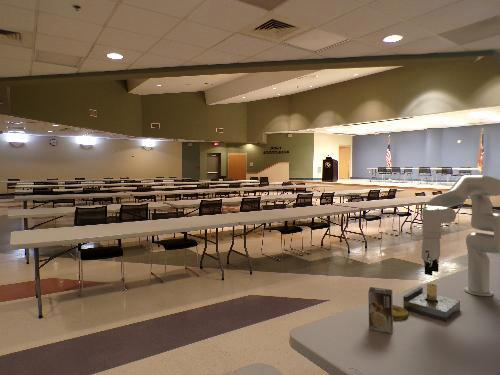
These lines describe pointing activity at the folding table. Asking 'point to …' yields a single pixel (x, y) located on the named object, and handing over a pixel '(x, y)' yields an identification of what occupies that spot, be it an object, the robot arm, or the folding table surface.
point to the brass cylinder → (431, 293)
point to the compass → (399, 313)
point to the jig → (430, 305)
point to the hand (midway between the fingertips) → (431, 272)
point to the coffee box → (380, 309)
